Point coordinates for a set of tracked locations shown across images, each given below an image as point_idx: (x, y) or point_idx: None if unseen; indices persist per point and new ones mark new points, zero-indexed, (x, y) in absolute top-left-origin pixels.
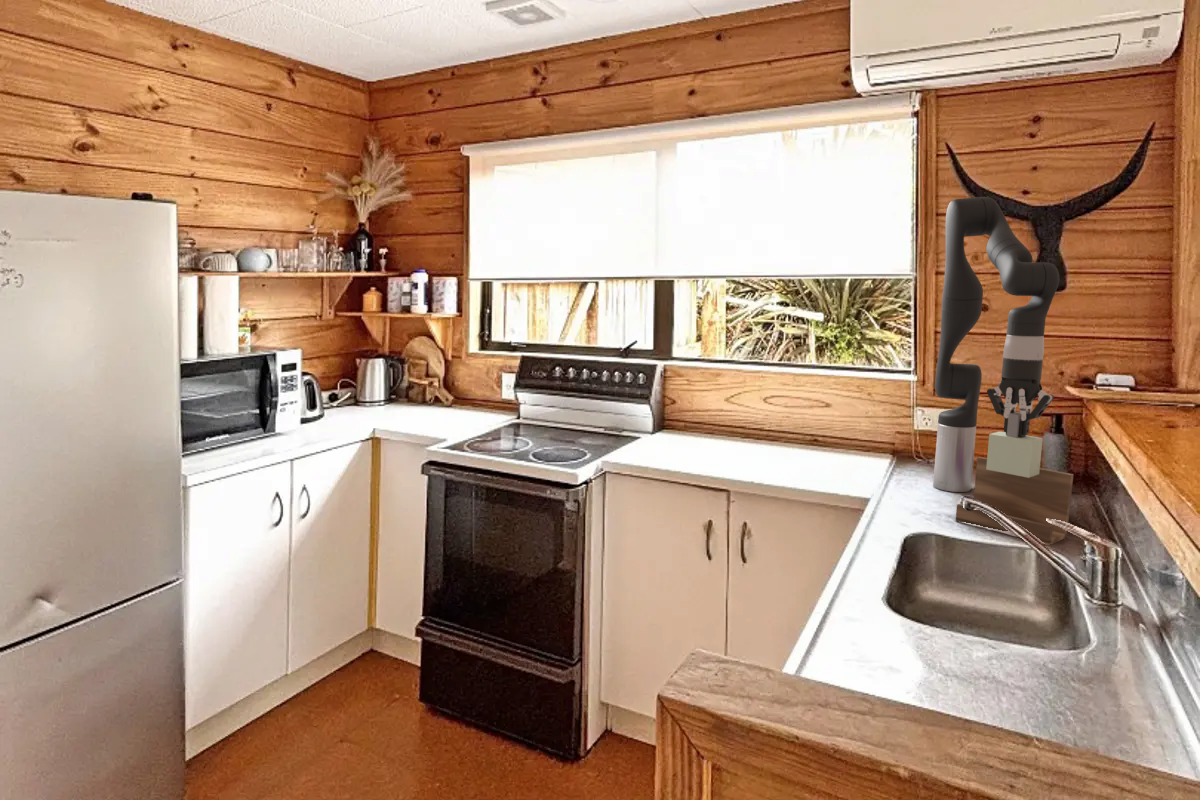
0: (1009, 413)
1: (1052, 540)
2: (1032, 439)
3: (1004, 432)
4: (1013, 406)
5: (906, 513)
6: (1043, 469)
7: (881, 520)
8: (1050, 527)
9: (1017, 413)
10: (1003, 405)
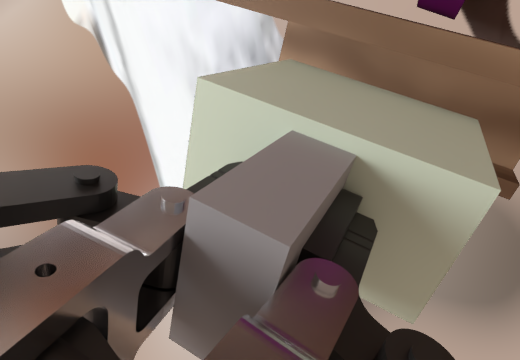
0: (167, 311)
1: (516, 162)
2: (414, 278)
3: (225, 100)
4: (126, 323)
5: (183, 96)
6: (505, 72)
7: (171, 171)
8: (509, 198)
9: (217, 307)
10: (34, 218)
